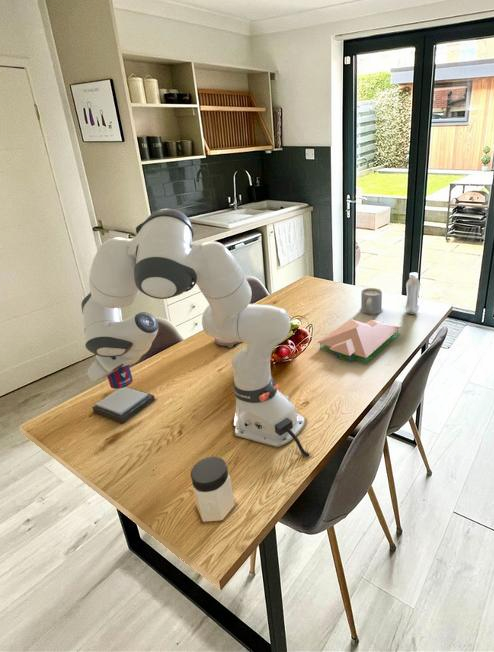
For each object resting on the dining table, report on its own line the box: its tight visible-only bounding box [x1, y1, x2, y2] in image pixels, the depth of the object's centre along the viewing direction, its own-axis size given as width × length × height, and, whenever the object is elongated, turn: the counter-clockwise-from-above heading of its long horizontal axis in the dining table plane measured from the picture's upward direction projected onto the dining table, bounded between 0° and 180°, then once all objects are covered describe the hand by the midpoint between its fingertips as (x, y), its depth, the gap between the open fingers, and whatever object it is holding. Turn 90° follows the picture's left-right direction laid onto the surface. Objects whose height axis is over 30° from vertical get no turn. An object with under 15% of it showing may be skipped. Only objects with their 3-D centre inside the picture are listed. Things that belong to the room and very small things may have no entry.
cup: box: [107, 364, 134, 390], centre depth 129 cm, size 7×10×7 cm
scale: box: [91, 386, 156, 424], centre depth 133 cm, size 14×13×3 cm
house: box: [317, 318, 401, 365], centre depth 166 cm, size 23×33×8 cm
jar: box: [190, 456, 236, 523], centre depth 93 cm, size 9×8×12 cm
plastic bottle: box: [404, 272, 421, 315], centre depth 190 cm, size 6×7×20 cm
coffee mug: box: [360, 287, 383, 315], centre depth 195 cm, size 13×10×10 cm
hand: (113, 370), depth 128 cm, fingers closed on cup, 6 cm apart
